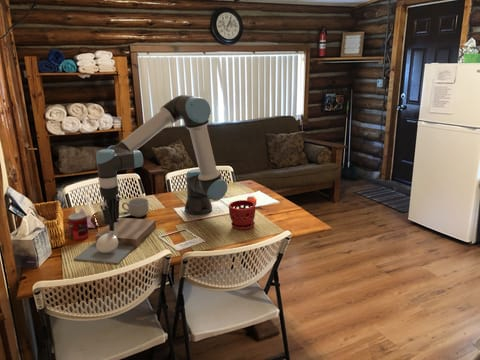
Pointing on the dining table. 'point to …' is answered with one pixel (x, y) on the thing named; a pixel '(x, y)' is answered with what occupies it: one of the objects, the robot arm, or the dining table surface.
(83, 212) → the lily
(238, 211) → the plant pot
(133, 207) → the teacup
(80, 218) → the canned food
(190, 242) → the photo frame
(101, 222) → the coconut
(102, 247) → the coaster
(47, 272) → the dining table surface
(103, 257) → the mat
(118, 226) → the serving board
